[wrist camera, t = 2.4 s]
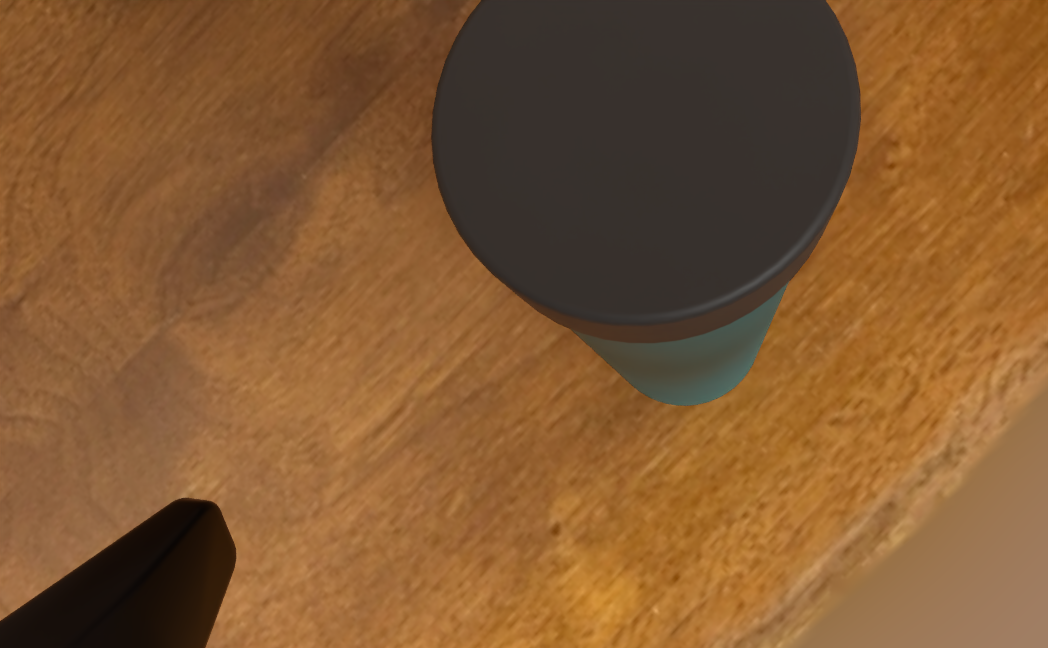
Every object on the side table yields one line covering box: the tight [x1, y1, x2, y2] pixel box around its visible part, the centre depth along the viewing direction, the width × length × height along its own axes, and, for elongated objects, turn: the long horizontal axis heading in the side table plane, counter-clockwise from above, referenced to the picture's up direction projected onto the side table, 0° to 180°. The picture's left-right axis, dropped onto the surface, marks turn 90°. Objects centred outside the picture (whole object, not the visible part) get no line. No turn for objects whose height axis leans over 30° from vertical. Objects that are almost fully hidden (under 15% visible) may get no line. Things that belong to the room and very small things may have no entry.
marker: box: [431, 0, 861, 406], centre depth 13 cm, size 3×3×14 cm
